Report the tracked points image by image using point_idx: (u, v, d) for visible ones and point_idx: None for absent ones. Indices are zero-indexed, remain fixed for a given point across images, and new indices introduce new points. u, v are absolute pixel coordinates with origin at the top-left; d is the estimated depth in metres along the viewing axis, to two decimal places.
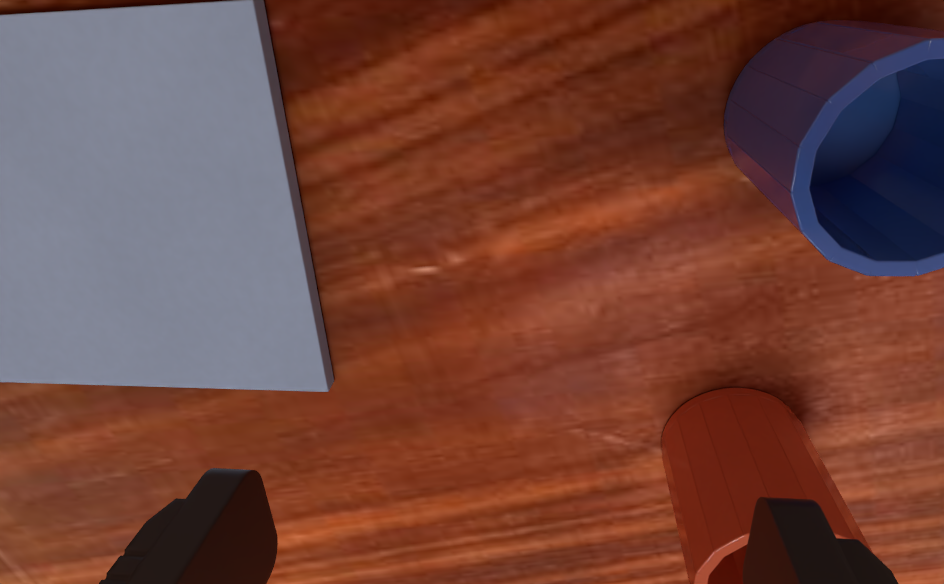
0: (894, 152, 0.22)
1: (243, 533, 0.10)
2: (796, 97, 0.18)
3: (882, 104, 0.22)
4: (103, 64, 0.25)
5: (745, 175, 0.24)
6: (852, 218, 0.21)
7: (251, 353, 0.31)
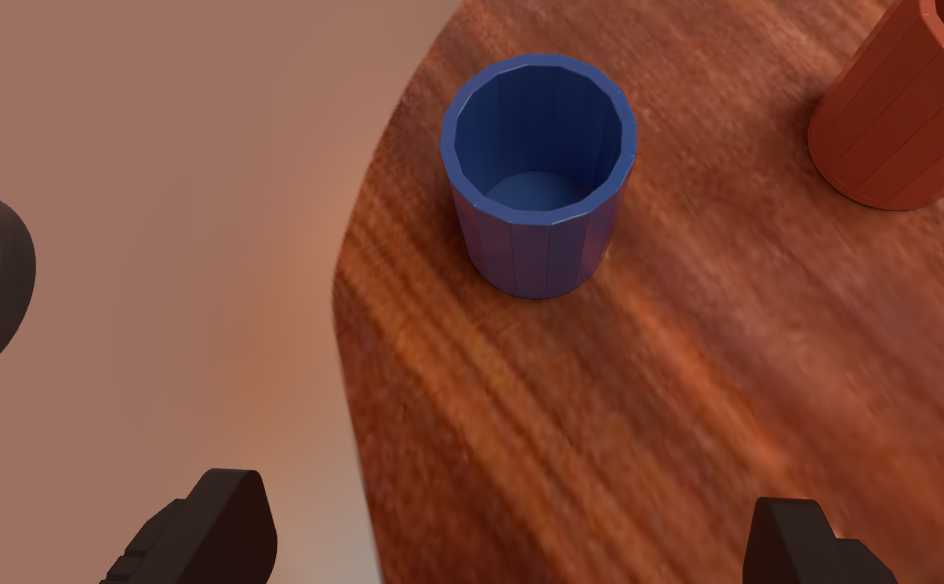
0: (544, 159, 0.27)
1: (243, 533, 0.10)
2: (518, 246, 0.21)
3: (514, 186, 0.28)
4: None
5: (602, 256, 0.26)
6: (601, 159, 0.24)
7: None
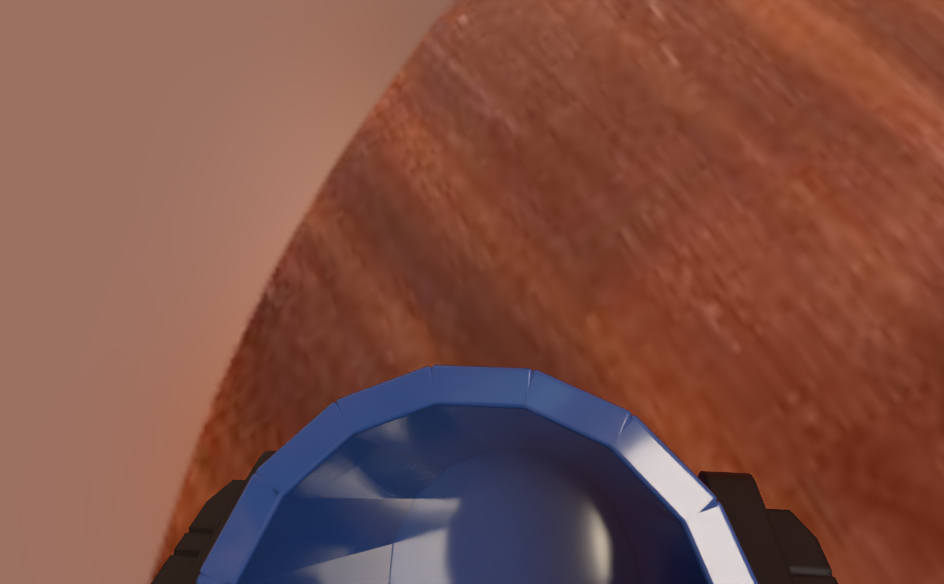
0: (521, 448, 0.13)
1: None
2: None
3: (466, 486, 0.14)
4: None
5: None
6: (647, 535, 0.10)
7: None
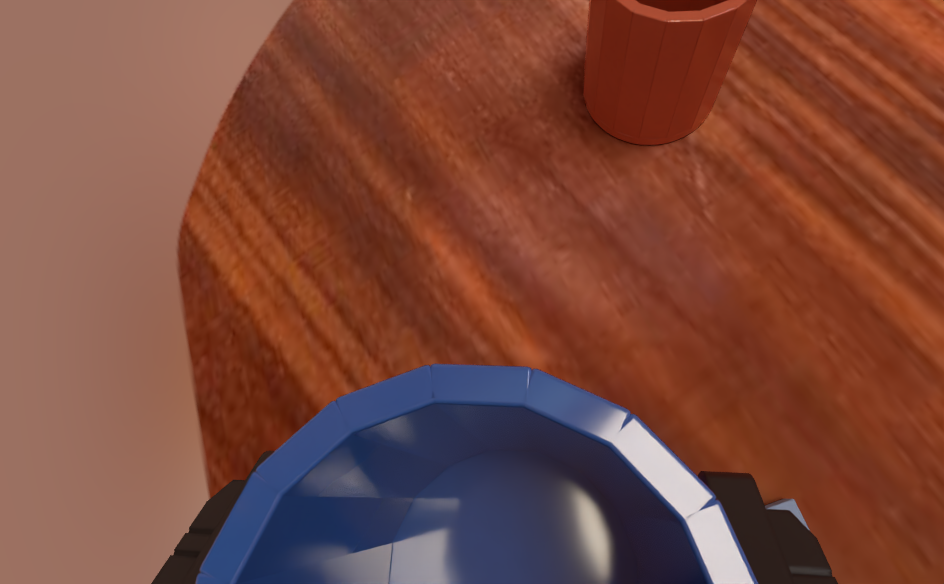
0: (520, 448, 0.13)
1: None
2: None
3: (466, 485, 0.14)
4: None
5: None
6: (646, 534, 0.10)
7: None
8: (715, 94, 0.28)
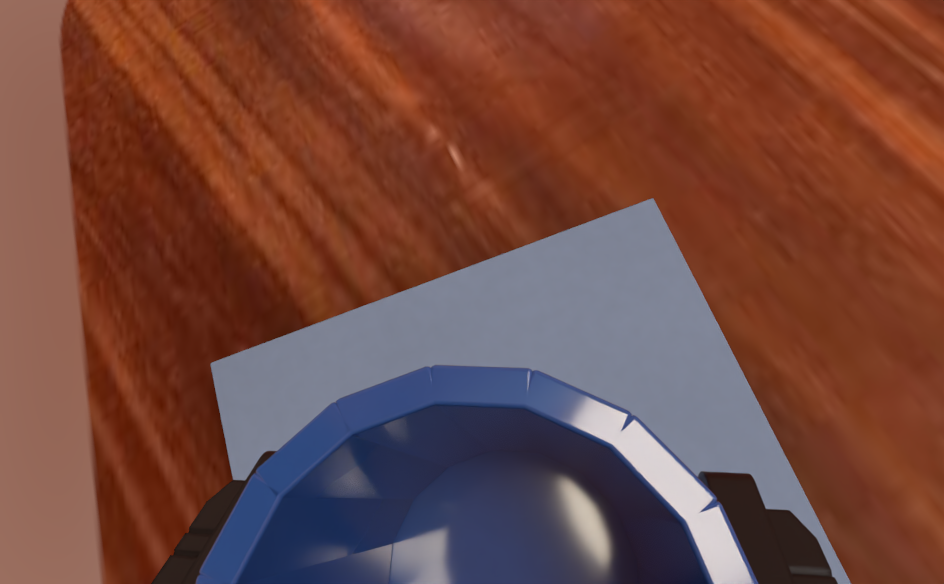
0: (521, 449, 0.13)
1: None
2: None
3: (466, 486, 0.14)
4: None
5: None
6: (647, 535, 0.10)
7: (638, 302, 0.22)
8: None
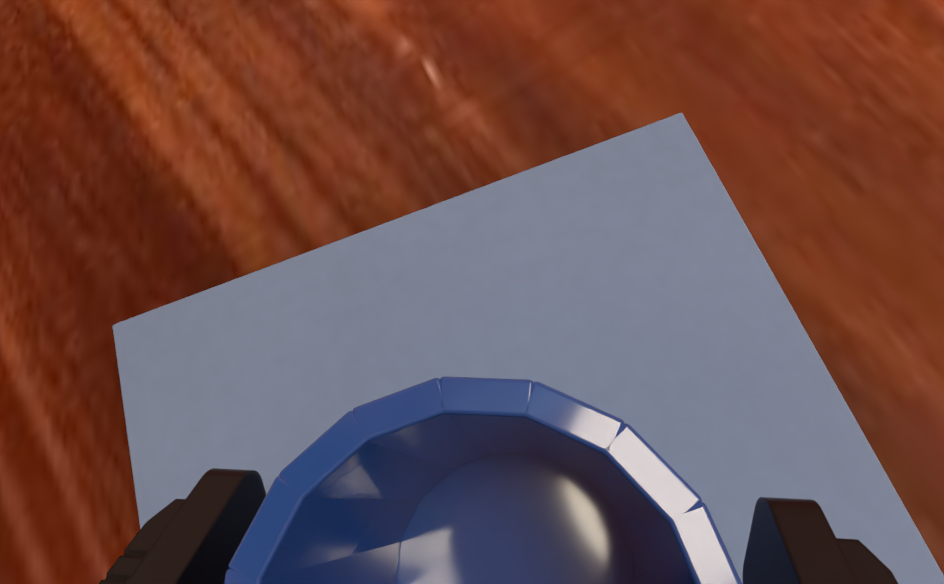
0: (522, 451, 0.14)
1: (243, 534, 0.10)
2: None
3: (470, 487, 0.15)
4: None
5: None
6: (641, 534, 0.11)
7: (664, 243, 0.17)
8: None
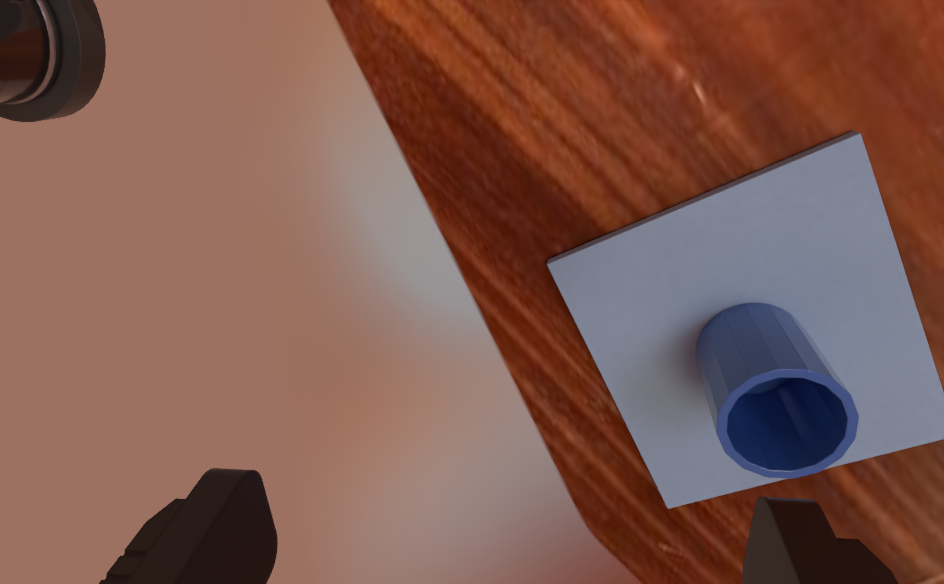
0: None
1: (243, 534, 0.10)
2: None
3: None
4: (621, 345, 0.39)
5: None
6: None
7: (836, 212, 0.34)
8: None
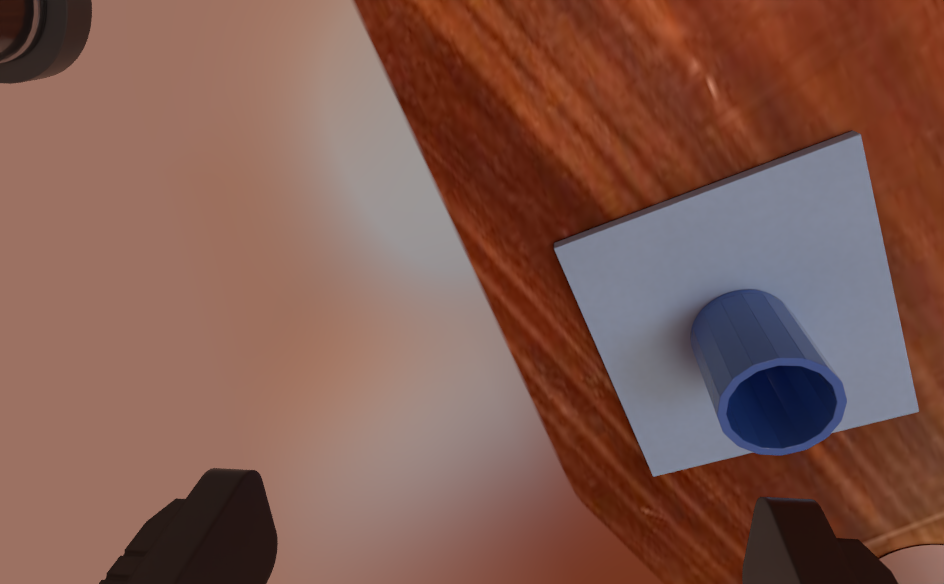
0: None
1: (243, 534, 0.10)
2: None
3: None
4: (621, 327, 0.41)
5: None
6: None
7: (831, 207, 0.36)
8: None
